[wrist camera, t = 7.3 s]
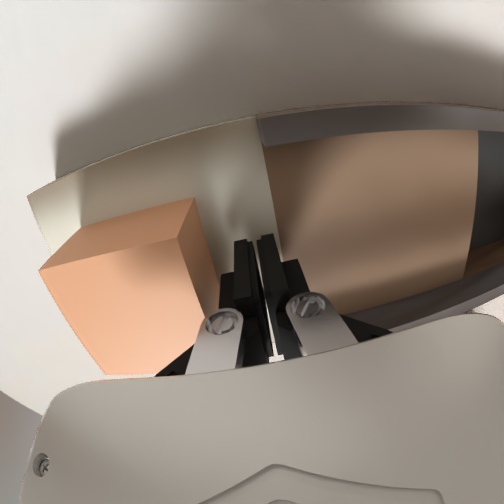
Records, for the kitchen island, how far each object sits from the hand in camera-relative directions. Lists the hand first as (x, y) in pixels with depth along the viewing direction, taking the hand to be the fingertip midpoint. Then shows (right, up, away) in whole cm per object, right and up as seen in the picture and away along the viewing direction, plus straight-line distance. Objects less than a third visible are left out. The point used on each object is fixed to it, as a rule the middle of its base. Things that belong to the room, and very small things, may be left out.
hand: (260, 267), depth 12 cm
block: (-5, 0, +1) cm, 5 cm away
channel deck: (+6, +3, +3) cm, 7 cm away
